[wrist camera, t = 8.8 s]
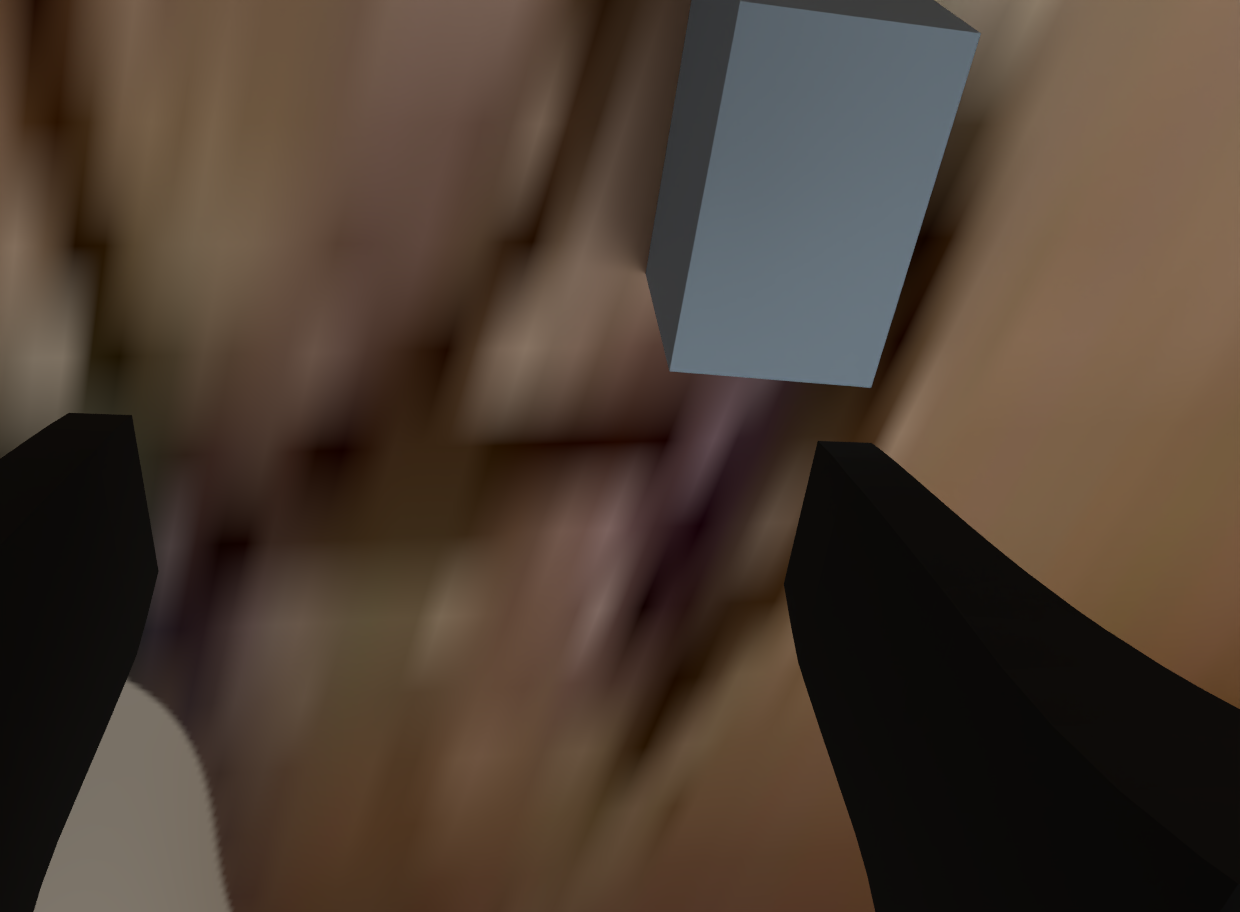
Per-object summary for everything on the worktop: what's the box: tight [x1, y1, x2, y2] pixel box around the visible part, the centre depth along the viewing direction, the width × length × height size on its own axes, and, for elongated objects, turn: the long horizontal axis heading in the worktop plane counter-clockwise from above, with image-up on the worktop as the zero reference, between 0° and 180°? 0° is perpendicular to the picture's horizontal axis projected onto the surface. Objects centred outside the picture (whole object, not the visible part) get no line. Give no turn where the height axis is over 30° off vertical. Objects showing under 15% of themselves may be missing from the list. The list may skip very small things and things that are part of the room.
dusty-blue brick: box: [646, 0, 981, 388], centre depth 19 cm, size 4×6×4 cm, turn 172°
